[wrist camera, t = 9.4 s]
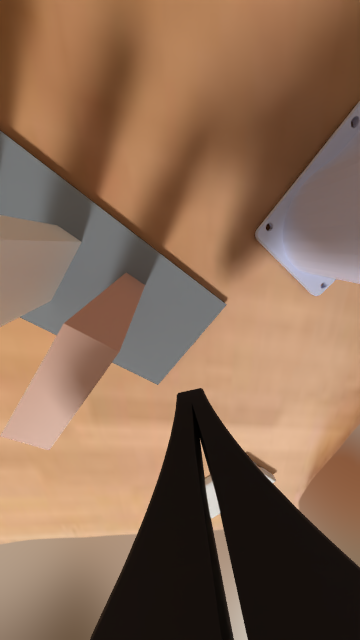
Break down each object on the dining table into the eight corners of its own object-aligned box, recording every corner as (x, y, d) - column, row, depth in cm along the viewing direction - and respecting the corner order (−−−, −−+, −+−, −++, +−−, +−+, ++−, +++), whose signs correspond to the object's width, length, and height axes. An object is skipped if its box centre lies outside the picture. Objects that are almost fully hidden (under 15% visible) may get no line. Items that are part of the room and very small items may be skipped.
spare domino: (126, 272, 13) (63, 323, 5) (145, 285, 13) (119, 352, 5) (93, 324, 14) (0, 436, 6) (112, 334, 15) (49, 450, 6)
